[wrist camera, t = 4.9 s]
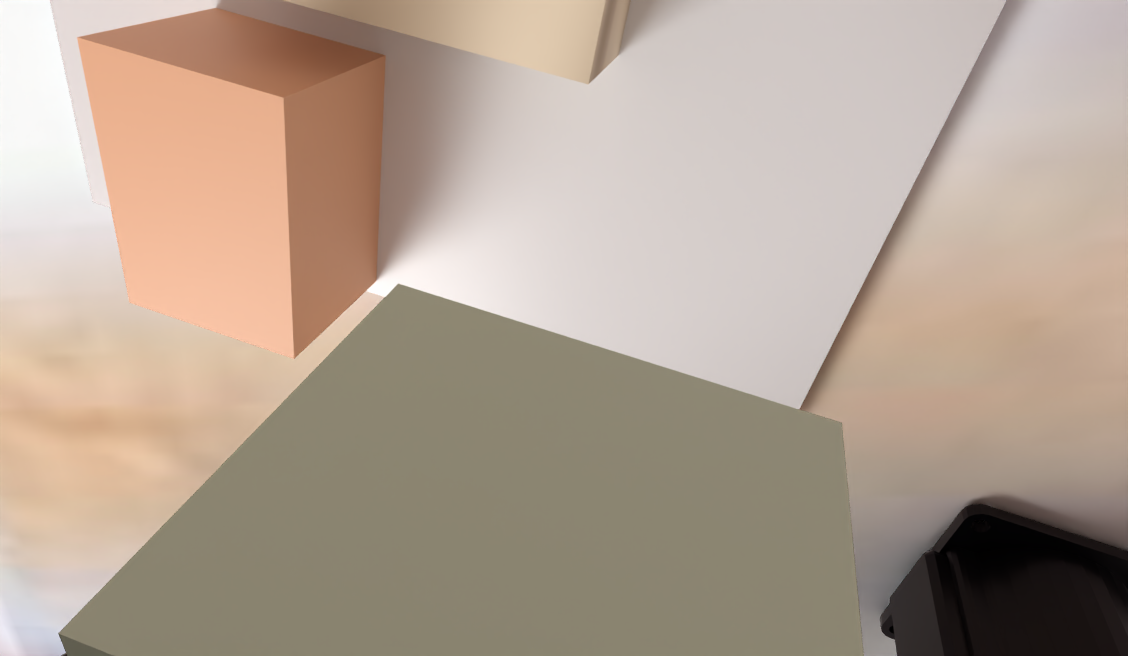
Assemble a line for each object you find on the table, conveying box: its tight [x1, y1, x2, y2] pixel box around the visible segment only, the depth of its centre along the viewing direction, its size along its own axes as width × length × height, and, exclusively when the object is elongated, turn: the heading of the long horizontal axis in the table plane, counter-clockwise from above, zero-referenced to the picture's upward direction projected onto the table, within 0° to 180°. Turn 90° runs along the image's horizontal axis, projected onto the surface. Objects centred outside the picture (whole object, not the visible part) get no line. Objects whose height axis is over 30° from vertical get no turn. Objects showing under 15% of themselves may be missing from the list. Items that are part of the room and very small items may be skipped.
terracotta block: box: [77, 8, 386, 359], centre depth 19 cm, size 5×7×4 cm
